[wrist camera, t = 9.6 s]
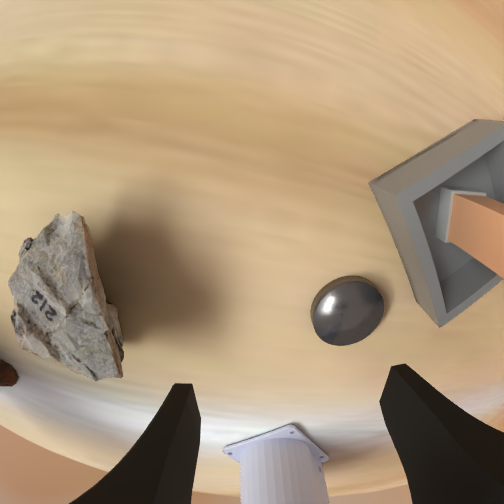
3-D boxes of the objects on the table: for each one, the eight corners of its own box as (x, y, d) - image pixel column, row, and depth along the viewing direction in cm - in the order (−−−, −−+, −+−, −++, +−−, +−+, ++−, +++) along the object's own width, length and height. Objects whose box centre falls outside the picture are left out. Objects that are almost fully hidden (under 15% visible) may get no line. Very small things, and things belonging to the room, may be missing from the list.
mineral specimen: (86, 258, 24) (187, 282, 22) (58, 347, 21) (157, 391, 19) (11, 202, 15) (120, 216, 13) (-32, 319, 12) (65, 390, 10)
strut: (475, 189, 17) (547, 219, 10) (469, 235, 18) (534, 277, 11) (440, 186, 17) (515, 218, 10) (435, 236, 18) (501, 283, 11)
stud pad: (387, 314, 21) (392, 321, 20) (328, 347, 22) (331, 356, 21) (363, 262, 19) (369, 268, 18) (297, 300, 20) (300, 308, 19)
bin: (504, 235, 19) (532, 251, 15) (416, 301, 20) (439, 328, 17) (474, 119, 15) (509, 122, 12) (368, 183, 17) (395, 195, 14)
